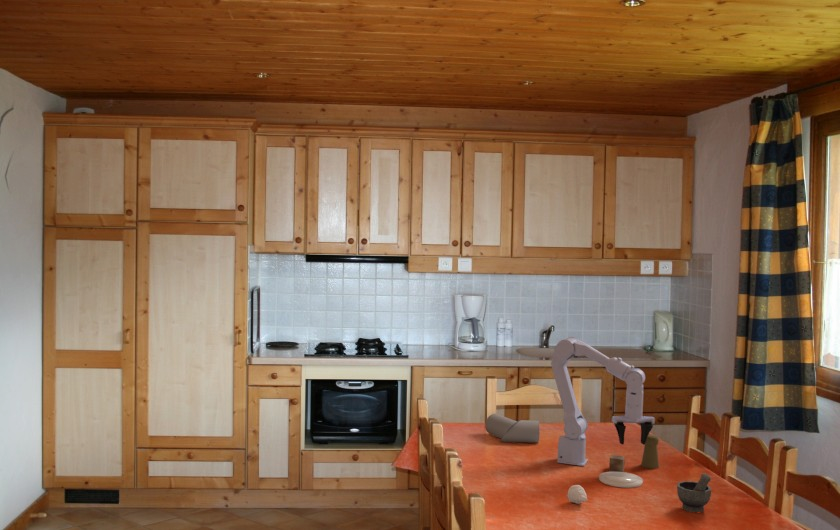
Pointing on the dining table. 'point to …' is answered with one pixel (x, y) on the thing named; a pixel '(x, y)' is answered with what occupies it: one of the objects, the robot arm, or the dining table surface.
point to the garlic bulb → (577, 494)
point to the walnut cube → (617, 463)
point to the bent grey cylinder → (513, 429)
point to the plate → (621, 479)
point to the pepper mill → (650, 452)
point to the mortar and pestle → (694, 494)
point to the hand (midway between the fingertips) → (632, 443)
